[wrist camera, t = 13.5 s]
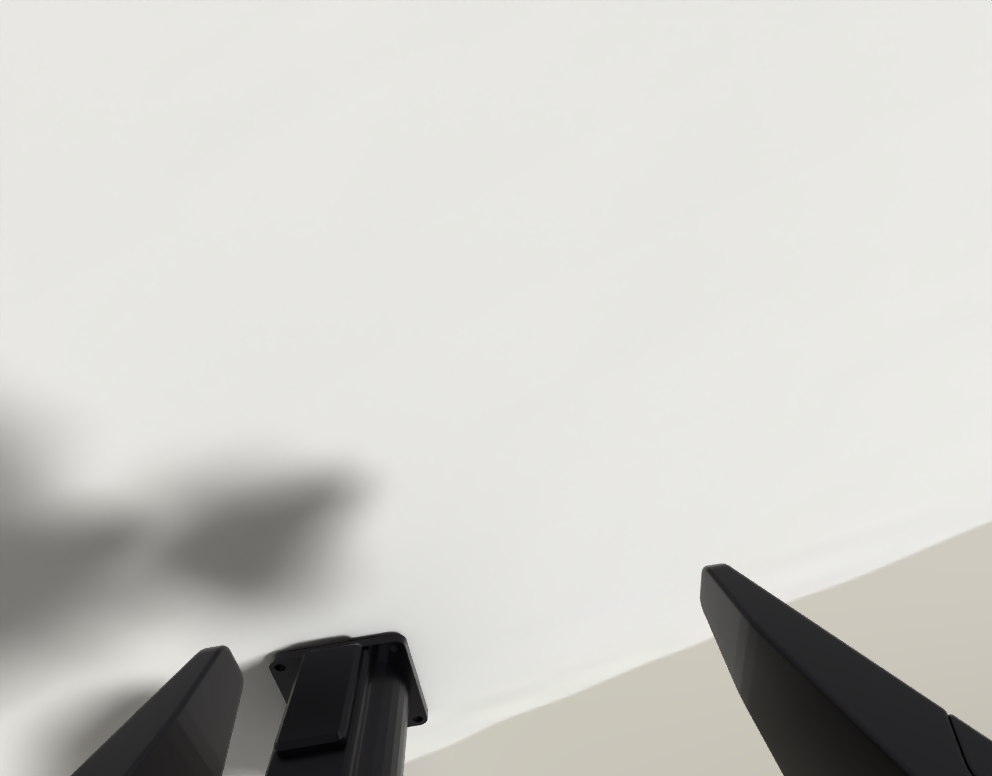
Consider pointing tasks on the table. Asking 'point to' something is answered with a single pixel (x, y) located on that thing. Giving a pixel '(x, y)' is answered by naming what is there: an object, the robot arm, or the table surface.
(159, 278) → the table surface
